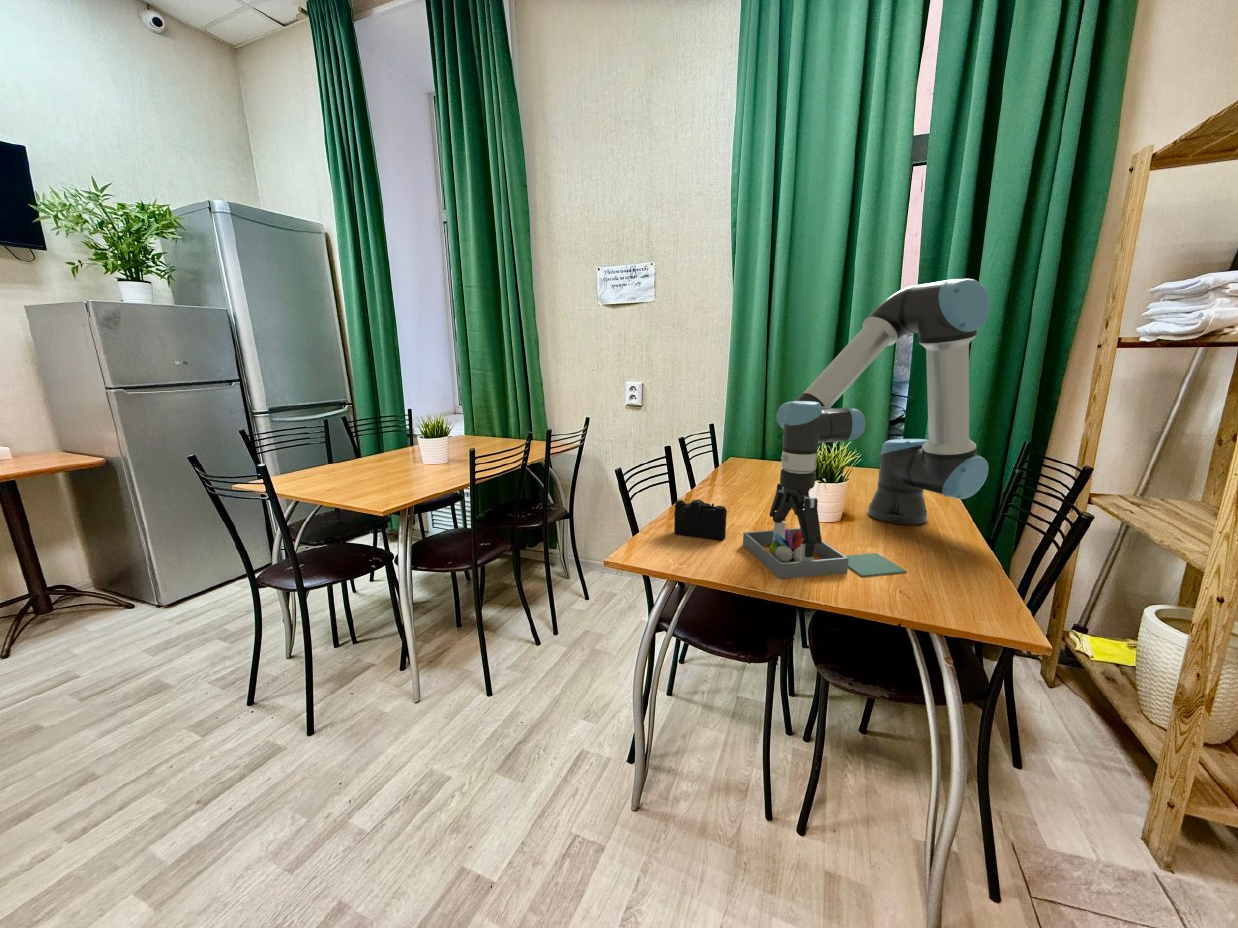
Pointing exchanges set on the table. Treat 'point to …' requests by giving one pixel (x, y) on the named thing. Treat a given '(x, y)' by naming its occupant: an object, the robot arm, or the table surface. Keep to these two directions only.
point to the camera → (700, 520)
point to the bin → (829, 565)
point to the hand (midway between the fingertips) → (791, 557)
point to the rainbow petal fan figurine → (787, 546)
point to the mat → (872, 565)
